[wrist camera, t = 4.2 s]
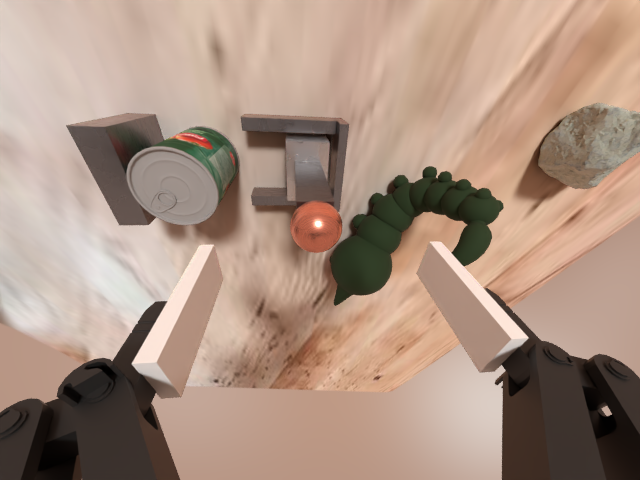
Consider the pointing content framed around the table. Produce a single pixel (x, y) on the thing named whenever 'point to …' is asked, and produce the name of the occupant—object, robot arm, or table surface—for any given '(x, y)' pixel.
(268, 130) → the press frame
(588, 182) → the decorative stone
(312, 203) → the ball-tipped square rod
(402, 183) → the toy figurine
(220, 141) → the canned tomato
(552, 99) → the table surface
